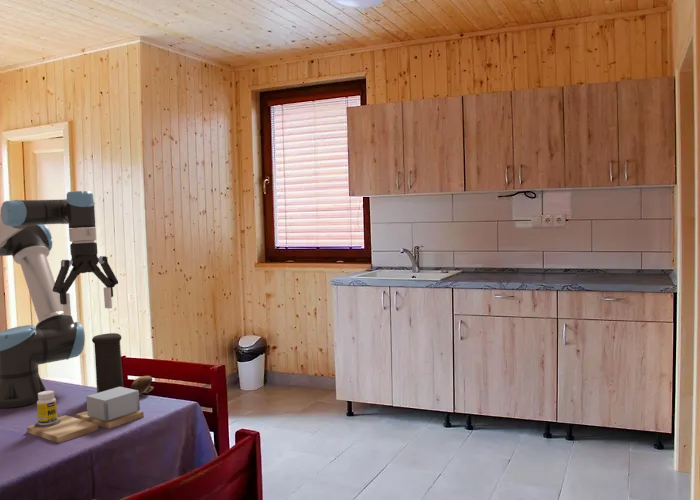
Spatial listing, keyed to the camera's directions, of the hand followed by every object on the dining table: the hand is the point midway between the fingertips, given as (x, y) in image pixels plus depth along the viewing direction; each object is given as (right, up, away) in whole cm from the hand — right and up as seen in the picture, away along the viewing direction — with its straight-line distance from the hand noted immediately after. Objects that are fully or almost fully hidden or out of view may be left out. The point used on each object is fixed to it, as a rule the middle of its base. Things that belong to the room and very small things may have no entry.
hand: (88, 311), depth 192 cm
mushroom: (+13, -28, +11) cm, 32 cm away
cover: (+13, -27, -15) cm, 34 cm away
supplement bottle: (-3, -29, -20) cm, 35 cm away
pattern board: (+12, -29, -13) cm, 34 cm away
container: (+3, -28, +11) cm, 30 cm away
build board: (+2, -30, -22) cm, 38 cm away
